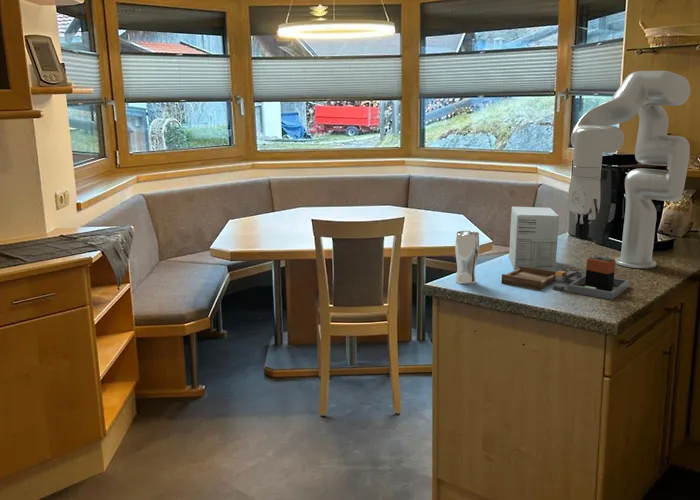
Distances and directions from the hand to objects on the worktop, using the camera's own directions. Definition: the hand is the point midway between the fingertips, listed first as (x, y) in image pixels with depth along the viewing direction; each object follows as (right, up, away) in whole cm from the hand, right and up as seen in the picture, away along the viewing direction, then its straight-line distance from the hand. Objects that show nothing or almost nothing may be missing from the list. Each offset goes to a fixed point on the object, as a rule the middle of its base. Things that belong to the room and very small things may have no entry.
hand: (581, 236), depth 192 cm
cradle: (+6, -15, +3) cm, 17 cm away
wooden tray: (-12, -13, +11) cm, 21 cm away
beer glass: (-31, -13, +10) cm, 36 cm away
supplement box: (-6, -9, +31) cm, 33 cm away
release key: (-3, -12, +6) cm, 14 cm away
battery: (+6, -15, +3) cm, 17 cm away
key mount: (-2, -14, +7) cm, 16 cm away
